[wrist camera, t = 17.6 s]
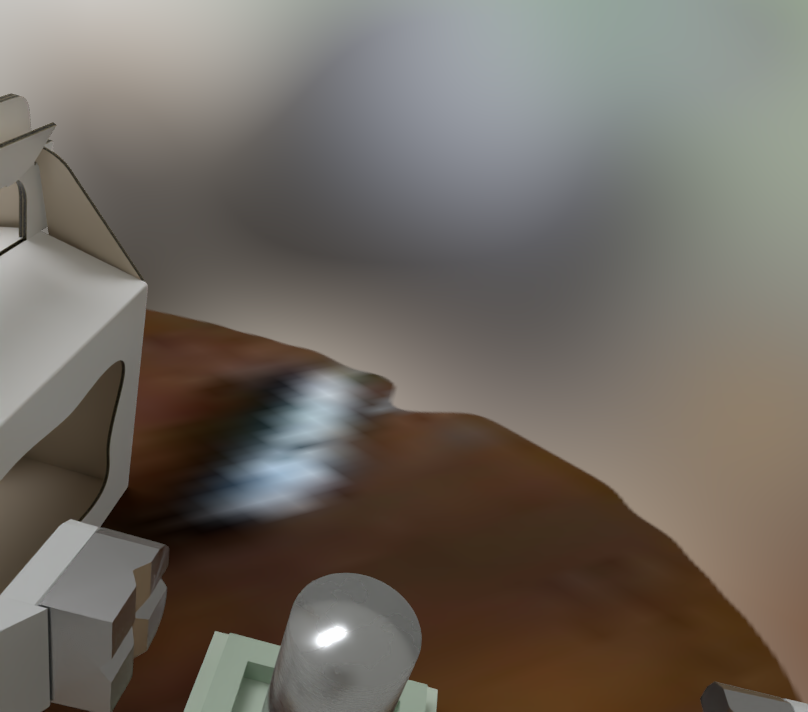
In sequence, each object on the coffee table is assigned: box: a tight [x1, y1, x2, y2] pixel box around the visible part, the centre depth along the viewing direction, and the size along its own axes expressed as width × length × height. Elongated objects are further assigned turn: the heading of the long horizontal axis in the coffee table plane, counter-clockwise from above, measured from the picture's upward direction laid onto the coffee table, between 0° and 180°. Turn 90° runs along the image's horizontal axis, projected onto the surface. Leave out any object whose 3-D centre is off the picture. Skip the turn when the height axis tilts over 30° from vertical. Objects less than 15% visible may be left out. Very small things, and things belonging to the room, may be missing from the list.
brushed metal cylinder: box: [261, 573, 422, 712], centre depth 36 cm, size 6×6×12 cm
